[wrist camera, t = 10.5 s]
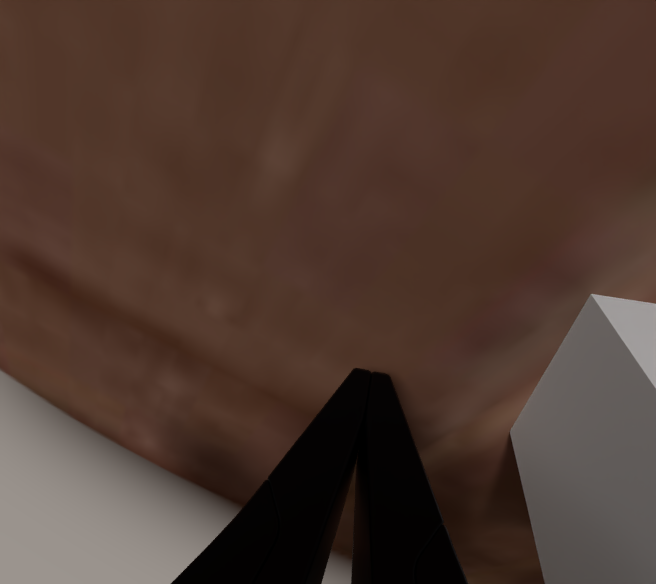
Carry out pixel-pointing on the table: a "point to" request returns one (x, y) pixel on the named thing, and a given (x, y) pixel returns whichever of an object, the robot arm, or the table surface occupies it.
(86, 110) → the table surface
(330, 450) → the robot arm
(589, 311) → the plug block
